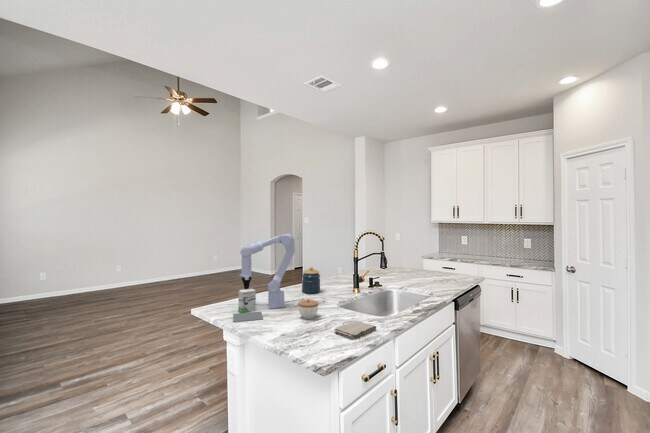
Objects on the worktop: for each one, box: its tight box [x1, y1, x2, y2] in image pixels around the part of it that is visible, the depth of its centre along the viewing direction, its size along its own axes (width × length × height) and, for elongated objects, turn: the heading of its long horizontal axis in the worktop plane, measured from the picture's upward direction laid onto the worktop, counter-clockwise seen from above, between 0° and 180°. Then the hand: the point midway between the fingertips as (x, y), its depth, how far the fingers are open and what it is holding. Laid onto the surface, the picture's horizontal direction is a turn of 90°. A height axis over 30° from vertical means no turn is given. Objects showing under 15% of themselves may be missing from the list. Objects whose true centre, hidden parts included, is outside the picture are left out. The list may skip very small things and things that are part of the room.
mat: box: [232, 311, 264, 323], centre depth 166 cm, size 15×12×1 cm
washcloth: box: [334, 320, 377, 340], centre depth 146 cm, size 12×18×3 cm, turn 136°
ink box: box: [237, 288, 257, 313], centre depth 177 cm, size 9×5×12 cm, turn 126°
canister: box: [301, 266, 321, 295], centre depth 219 cm, size 13×13×18 cm
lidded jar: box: [297, 298, 319, 320], centre depth 167 cm, size 11×11×9 cm
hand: (246, 289), depth 186 cm, fingers closed
